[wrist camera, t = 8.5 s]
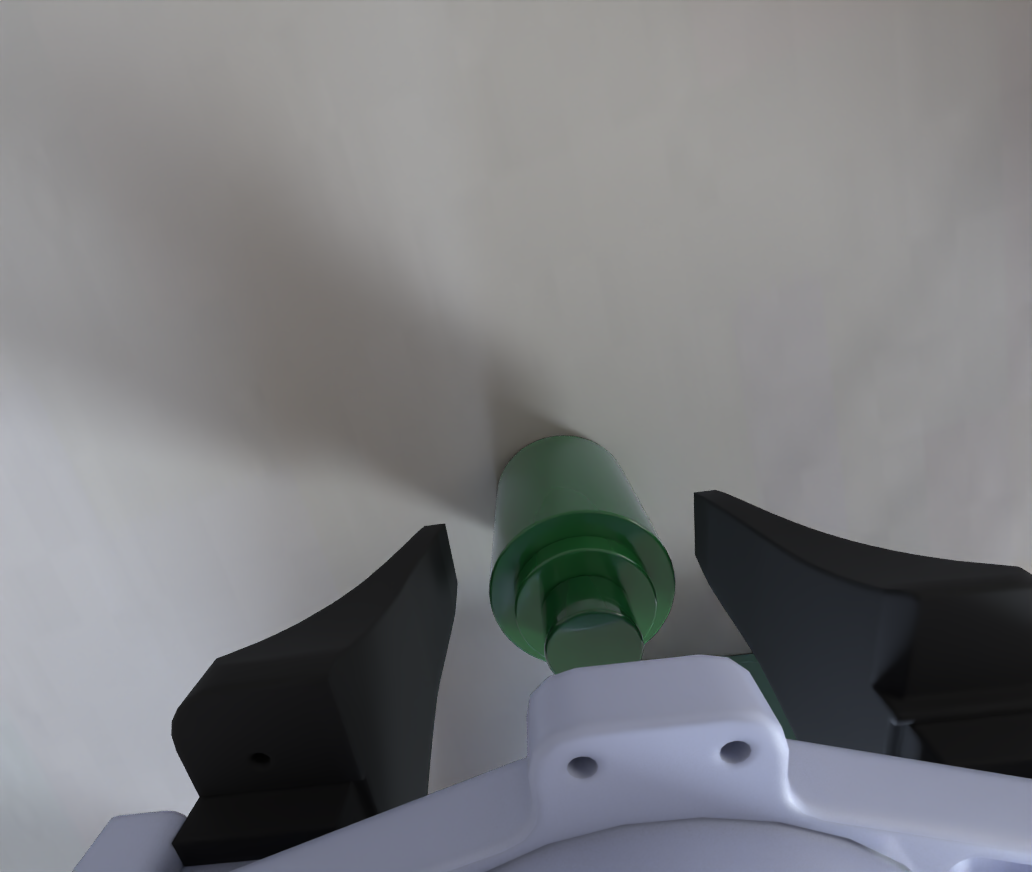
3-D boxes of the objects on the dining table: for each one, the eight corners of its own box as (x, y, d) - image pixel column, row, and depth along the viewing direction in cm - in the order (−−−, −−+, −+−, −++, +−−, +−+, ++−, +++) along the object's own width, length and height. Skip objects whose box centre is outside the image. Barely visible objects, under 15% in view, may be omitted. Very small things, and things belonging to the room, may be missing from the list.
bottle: (506, 559, 17) (501, 743, 10) (487, 443, 15) (466, 571, 9) (630, 544, 17) (706, 722, 10) (622, 426, 15) (704, 543, 9)
